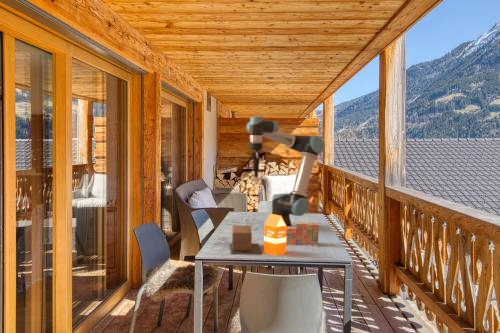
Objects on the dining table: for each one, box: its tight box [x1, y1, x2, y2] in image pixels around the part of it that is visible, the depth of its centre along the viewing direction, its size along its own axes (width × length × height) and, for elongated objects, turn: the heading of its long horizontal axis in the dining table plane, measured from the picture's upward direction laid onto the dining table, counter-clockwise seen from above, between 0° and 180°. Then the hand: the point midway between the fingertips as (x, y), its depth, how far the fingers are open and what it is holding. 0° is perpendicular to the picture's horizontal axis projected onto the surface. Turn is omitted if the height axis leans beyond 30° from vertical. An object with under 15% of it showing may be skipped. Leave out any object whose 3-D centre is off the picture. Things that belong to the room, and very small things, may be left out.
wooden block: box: [231, 225, 253, 251], centre depth 235 cm, size 10×10×20 cm
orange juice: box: [263, 213, 287, 256], centre depth 227 cm, size 8×9×20 cm
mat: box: [229, 242, 263, 255], centre depth 234 cm, size 16×20×1 cm
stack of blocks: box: [286, 221, 320, 246], centre depth 249 cm, size 21×6×12 cm, turn 79°
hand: (255, 182), depth 262 cm, fingers closed
